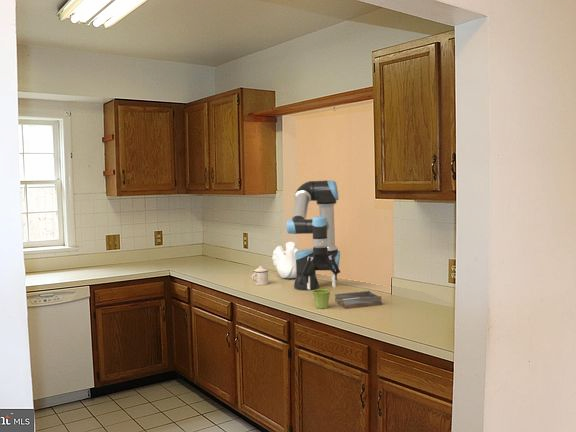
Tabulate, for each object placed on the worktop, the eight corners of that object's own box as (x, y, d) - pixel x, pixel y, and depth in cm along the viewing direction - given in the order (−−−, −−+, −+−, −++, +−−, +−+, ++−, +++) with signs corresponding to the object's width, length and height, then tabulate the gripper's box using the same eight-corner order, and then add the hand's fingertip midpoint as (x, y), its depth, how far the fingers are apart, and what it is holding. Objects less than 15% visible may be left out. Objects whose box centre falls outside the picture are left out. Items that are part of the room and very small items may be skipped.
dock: (335, 302, 287) (334, 294, 287) (369, 299, 293) (369, 290, 292) (345, 308, 273) (345, 300, 273) (381, 304, 279) (381, 296, 279)
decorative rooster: (307, 278, 356) (306, 241, 355) (287, 281, 348) (286, 243, 346) (288, 273, 378) (287, 238, 376) (268, 276, 369) (267, 240, 368)
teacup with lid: (262, 282, 350) (261, 264, 349) (271, 283, 343) (270, 265, 342) (247, 285, 342) (247, 266, 341) (256, 286, 335) (256, 268, 334)
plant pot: (319, 304, 284) (319, 288, 284) (334, 306, 278) (334, 290, 278) (309, 308, 277) (308, 291, 276) (324, 310, 271) (323, 293, 270)
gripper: (299, 249, 268) (300, 291, 269) (345, 246, 275) (346, 287, 276) (294, 247, 275) (295, 288, 277) (340, 244, 282) (341, 284, 284)
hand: (321, 288), depth 276 cm, fingers open, 13 cm apart
